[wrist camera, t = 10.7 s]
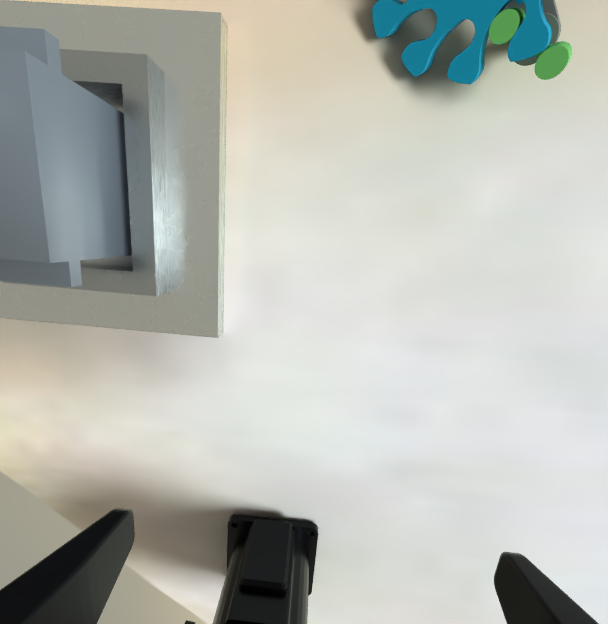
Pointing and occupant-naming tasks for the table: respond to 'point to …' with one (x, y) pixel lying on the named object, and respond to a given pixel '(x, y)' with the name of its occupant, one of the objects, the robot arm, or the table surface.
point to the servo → (56, 167)
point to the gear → (481, 34)
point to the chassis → (146, 166)
